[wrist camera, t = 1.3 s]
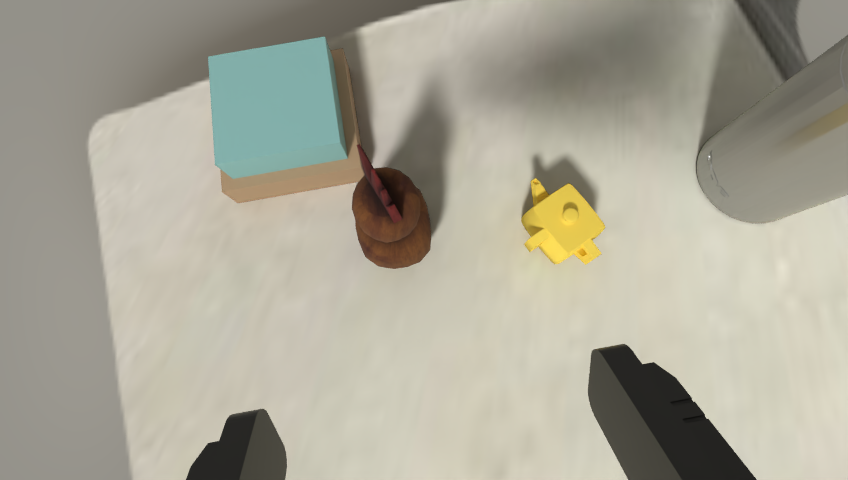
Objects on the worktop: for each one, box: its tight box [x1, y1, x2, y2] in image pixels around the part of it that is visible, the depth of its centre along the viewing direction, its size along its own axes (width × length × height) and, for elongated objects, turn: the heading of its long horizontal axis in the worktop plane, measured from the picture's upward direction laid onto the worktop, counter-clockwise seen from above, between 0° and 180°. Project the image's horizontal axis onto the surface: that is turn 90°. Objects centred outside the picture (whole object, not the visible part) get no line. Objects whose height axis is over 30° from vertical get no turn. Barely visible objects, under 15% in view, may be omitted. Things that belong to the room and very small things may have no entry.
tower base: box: [208, 37, 365, 203], centre depth 38 cm, size 12×12×6 cm
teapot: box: [521, 178, 605, 265], centre depth 35 cm, size 8×6×5 cm
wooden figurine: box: [352, 144, 431, 269], centre depth 31 cm, size 7×6×15 cm
